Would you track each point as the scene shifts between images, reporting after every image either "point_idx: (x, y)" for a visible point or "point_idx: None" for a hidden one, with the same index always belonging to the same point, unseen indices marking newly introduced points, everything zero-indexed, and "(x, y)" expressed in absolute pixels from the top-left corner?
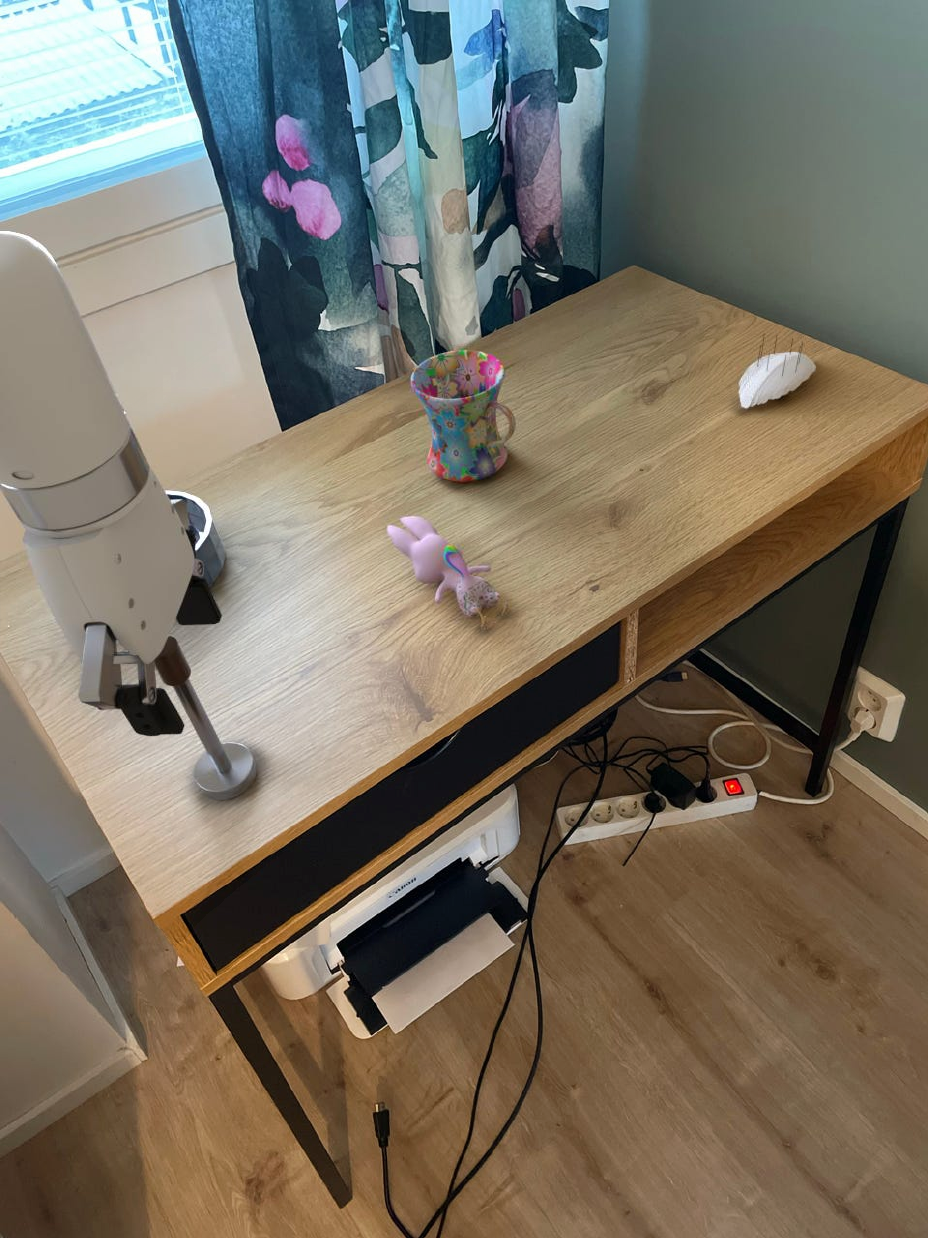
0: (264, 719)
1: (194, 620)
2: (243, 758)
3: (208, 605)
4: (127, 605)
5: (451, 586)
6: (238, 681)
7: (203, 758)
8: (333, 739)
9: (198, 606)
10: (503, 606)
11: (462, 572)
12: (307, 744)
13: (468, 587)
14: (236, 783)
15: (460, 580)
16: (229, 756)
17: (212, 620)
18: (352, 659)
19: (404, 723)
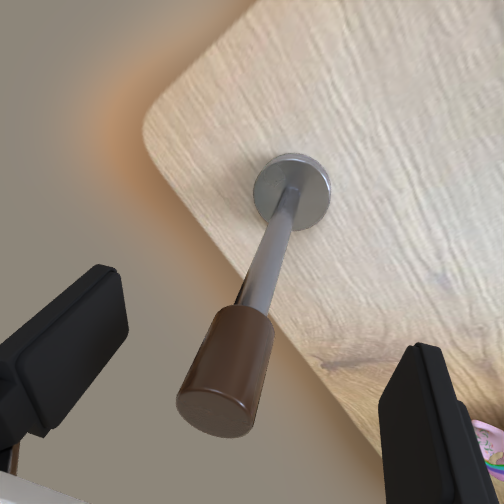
0: (374, 230)
1: (397, 383)
2: (298, 220)
3: (384, 464)
4: None
5: (491, 436)
6: (467, 195)
7: (309, 169)
8: (320, 296)
9: (394, 446)
10: None
11: (488, 469)
12: (319, 273)
13: None
14: (262, 213)
15: (489, 450)
16: (305, 203)
17: (380, 409)
18: (437, 325)
19: (323, 350)
